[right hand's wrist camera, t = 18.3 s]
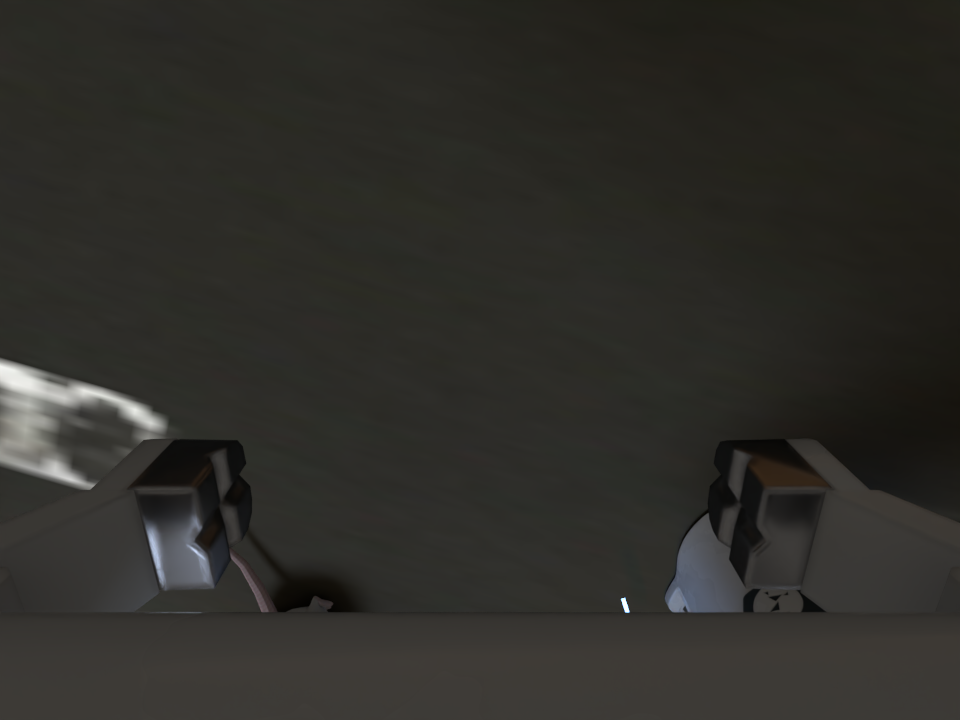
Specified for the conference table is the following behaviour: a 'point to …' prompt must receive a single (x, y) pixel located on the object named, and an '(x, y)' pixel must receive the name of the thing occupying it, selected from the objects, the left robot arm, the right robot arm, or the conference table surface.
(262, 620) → the right robot arm
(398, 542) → the conference table surface
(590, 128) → the conference table surface
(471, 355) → the conference table surface
